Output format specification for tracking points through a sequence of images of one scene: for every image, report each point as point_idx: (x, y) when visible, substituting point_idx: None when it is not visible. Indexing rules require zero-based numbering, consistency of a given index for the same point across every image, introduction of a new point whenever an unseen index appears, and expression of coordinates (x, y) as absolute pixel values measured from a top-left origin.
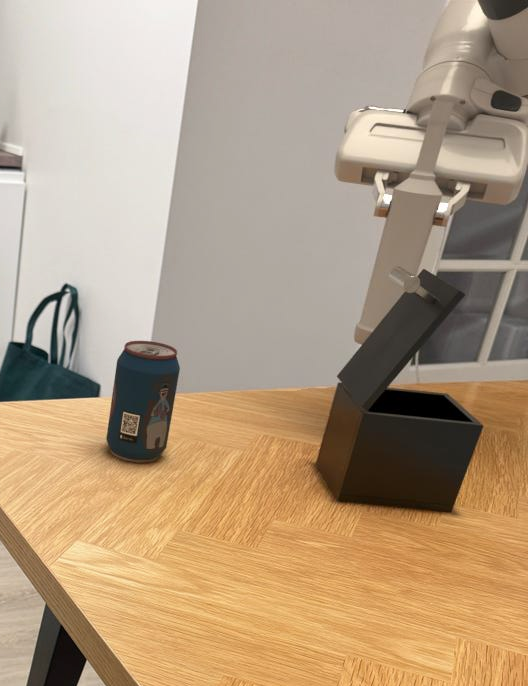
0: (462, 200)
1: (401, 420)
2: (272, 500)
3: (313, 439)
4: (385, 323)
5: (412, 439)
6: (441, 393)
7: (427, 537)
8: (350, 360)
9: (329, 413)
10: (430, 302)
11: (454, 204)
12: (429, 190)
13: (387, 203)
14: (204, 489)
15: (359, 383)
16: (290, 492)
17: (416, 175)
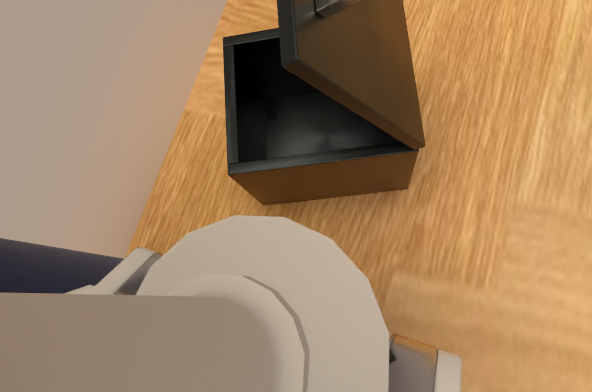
0: None
1: None
2: (474, 49)
3: (400, 297)
4: (369, 84)
5: None
6: (239, 170)
7: None
8: (411, 132)
9: (413, 167)
10: None
11: (88, 287)
12: (214, 239)
13: (403, 355)
14: (564, 47)
15: (403, 47)
16: (450, 80)
17: (279, 297)
